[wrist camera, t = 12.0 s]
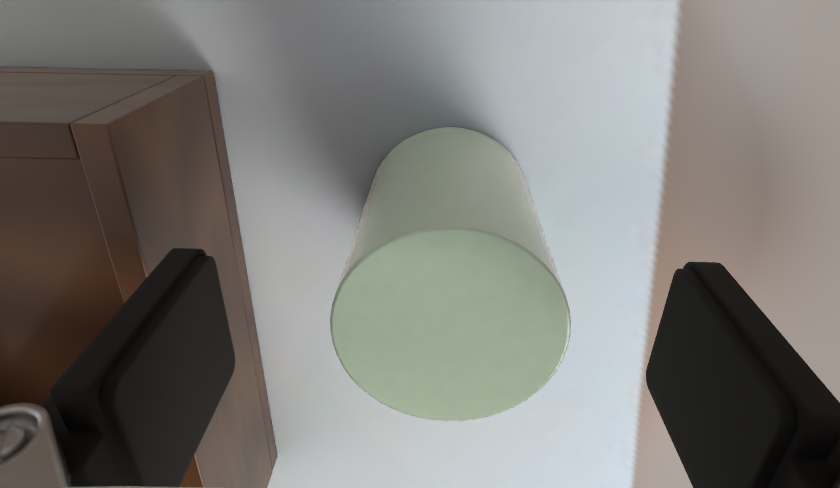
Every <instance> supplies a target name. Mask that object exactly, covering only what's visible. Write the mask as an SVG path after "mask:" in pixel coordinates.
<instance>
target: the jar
mask: <svg viewBox="0 0 840 488" xmlns="http://www.w3.org/2000/svg"><path fill="white" fill-rule="evenodd" d="M330 325H331V335H332V341H333V345H334V347H335V350H336V353H337V356H338V358H339V360H340V362H341V364H342V365H343V367H344V369H345V370H346V372H347V373H348V374H349V376H350V377H351V378H352V379H353V380H354V381H355V383H356V384H357V385H358V386H359V387H360V388H361V389H363V390H364V391H365V392H366V393H367V394H369V395H370V396H371V397H373V398H374V399H376V400H377V401H379V402H380V403H382V404H384V405H386V406H388V407H390V408H392V409H394V410H397V411H400V412H402V413H405V414H408V415H412V416H415V417H419V418H424V419H430V420H439V421H464V420H473V419H479V418H483V417H488V416H492V415H495V414H498V413H501V412H503V411H506V410H508V409H510V408H513V407H515V406H517V405H518V404H520V403H522V402H523V401H525V400H527V399H528V398H530V397H531V396H532V395H534V394H535V393H536V392H538V391H539V390H540V389H541V388H542V387H543V386H544V385H545V384H546V383H547V382H548V381H549V379H550V378H551V377H552V376H553V374H554V373H555V372H556V370H557V368H558V367H559V365H560V363H561V362H562V359H563V357H564V354H565V352H566V349H567V346H568V342H569V337H570V327H571V320H570V310H569V306H568V302H567V299H566V295H565V292H564V290H563V287H562V284H561V281H560V278H559V275H558V272H557V269H556V266H555V263H554V261H553V258H552V255H551V252H550V249H549V246H548V243H547V240H546V237H545V234H544V232H543V229H542V226H541V223H540V220H539V217H538V214H537V211H536V208H535V205H534V203H533V200H532V197H531V194H530V191H529V188H528V185H527V182H526V179H525V177H524V174H523V172H522V170H521V168H520V166H519V164H518V163H517V161H516V159H515V158H514V157H513V156H512V155H511V153H510V152H509V151H508V150H507V149H506V148H504V147H503V146H502V145H501V144H500V143H498V142H497V141H495V140H494V139H492V138H490V137H488V136H486V135H484V134H482V133H479V132H477V131H474V130H470V129H465V128H457V127H441V128H435V129H429V130H426V131H423V132H420V133H417V134H415V135H413V136H411V137H409V138H407V139H405V140H404V141H402V142H401V143H399V144H398V145H397V146H396V147H395V148H393V149H392V150H391V151H390V152H389V153H388V155H387V156H386V157H385V158H384V159H383V161H382V163H381V164H380V166H379V167H378V169H377V171H376V174H375V176H374V179H373V182H372V185H371V188H370V191H369V194H368V197H367V200H366V203H365V206H364V209H363V212H362V215H361V218H360V221H359V224H358V227H357V230H356V233H355V236H354V240H353V243H352V246H351V249H350V252H349V255H348V258H347V261H346V264H345V267H344V270H343V273H342V276H341V279H340V282H339V285H338V288H337V291H336V294H335V297H334V301H333V304H332V310H331V317H330Z"/></svg>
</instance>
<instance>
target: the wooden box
mask: <svg viewBox="0 0 840 488" xmlns="http://www.w3.org/2000/svg"><path fill="white" fill-rule="evenodd" d="M173 248H191V249H203V250H204V251H205V252H206V254H207V256H212V257H213V258H214V259H215V262H216V266H217V271H218V276H219V281H220V285H221V290H222V295H223V300H224V304H225V309H226V314H227V319H228V324H229V328H230V333H231V338H232V343H233V348H234V352H235V359H236V360H235V369H234V373H233V375H232V377H231V379H230V382H229V384H228V386H227V388H226V390H225V392H224V394H223V396H222V398H221V400H220V402H219V404H218V407H217V409H216V411H215V413H214V415H213V417H212V419H211V421H210V423H209V425H208V427H207V430H206V432H205V434H204V436H203V438H202V440H201V442H200V444H199V446H198V448H197V450H196V452H195V455H194V457H193V459H192V461H191V463H190V465H189V467H188V469H187V471H186V473H185V475H184V478H183V480H182V482H181V484H180V486H179V487H202V488H267V486H268V483H269V480H270V477H271V474H272V470H273V468H274V465H275V462H276V459H277V452H276V446H275V440H274V434H273V428H272V422H271V416H270V410H269V404H268V398H267V392H266V386H265V380H264V374H263V368H262V362H261V356H260V349H259V343H258V337H257V331H256V325H255V319H254V313H253V307H252V301H251V295H250V289H249V283H248V277H247V271H246V265H245V259H244V253H243V247H242V241H241V235H240V229H239V223H238V217H237V211H236V204H235V198H234V192H233V186H232V180H231V174H230V168H229V162H228V156H227V150H226V144H225V138H224V132H223V126H222V120H221V114H220V108H219V102H218V96H217V90H216V84H215V78H214V73H213V72H212V71H184V70H132V69H81V68H29V67H0V407H1V406H4V405H7V404H16V403H31V404H37V405H39V406H40V405H41V404H42V403H43V402H44V401H45V400H46V398H47V397H48V396H49V395H50V394H51V392H50V389H51V387H52V386H53V385H54V384H55V383H56V382H57V380H58V379H59V378H60V377H61V376H62V375H63V374H64V372H65V371H66V370H67V369H68V368H69V367H70V365H71V364H72V363H73V362H74V361H75V360H76V359H77V357H78V356H79V355H80V354H81V353H82V352H83V350H84V349H85V348H86V347H87V346H88V345H89V344H90V342H91V341H92V340H93V339H94V338H95V337H96V335H97V334H98V333H99V332H100V331H101V330H102V329H103V327H104V326H105V325H106V324H107V323H108V322H109V320H110V319H111V318H112V317H113V316H114V315H115V314H116V312H117V311H118V310H119V309H120V308H121V307H122V306H123V304H124V303H125V302H126V301H127V300H128V299H129V297H130V296H131V295H132V294H133V293H134V292H135V291H136V289H137V288H138V287H139V286H140V285H141V284H142V282H143V281H144V280H145V279H146V278H147V277H148V276H149V274H150V273H151V272H152V271H153V270H154V269H155V267H156V266H157V265H158V264H159V263H160V262H161V261H162V259H163V258H164V257H165V256H166V255H167V254H168V252H169V251H170V250H172V249H173Z"/></svg>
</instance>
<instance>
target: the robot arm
mask: <svg viewBox="0 0 840 488" xmlns="http://www.w3.org/2000/svg"><path fill="white" fill-rule="evenodd" d="M235 360H236V359H235V352H234V348H233V343H232V338H231V333H230V328H229V324H228V319H227V314H226V309H225V304H224V300H223V295H222V290H221V285H220V281H219V276H218V271H217V266H216V262H215V259H214V258H213V257H212V256H207V254H206V252H205V251H204V250H203V249H191V248H173V249H172V250H170V251H169V252H168V254H167V255H166V256H165V257H164V258H163V259H162V261H161V262H160V263H159V264H158V265H157V266H156V267H155V269H154V270H153V271H152V272H151V273H150V274H149V276H148V277H147V278H146V279H145V280H144V281H143V282H142V284H141V285H140V286H139V287H138V288H137V289H136V291H135V292H134V293H133V294H132V295H131V296H130V297H129V299H128V300H127V301H126V302H125V303H124V304H123V306H122V307H121V308H120V309H119V310H118V311H117V312H116V314H115V315H114V316H113V317H112V318H111V319H110V320H109V322H108V323H107V324H106V325H105V326H104V327H103V329H102V330H101V331H100V332H99V333H98V334H97V335H96V337H95V338H94V339H93V340H92V341H91V342H90V344H89V345H88V346H87V347H86V348H85V349H84V350H83V352H82V353H81V354H80V355H79V356H78V357H77V359H76V360H75V361H74V362H73V363H72V364H71V365H70V367H69V368H68V369H67V370H66V371H65V372H64V374H63V375H62V376H61V377H60V378H59V379H58V380H57V382H56V383H55V384H54V385H53V386H52V387H51V389H50V392H51V394H50V395H49V396H48V397H47V398H46V400H45V401H44V402H43V403H42V404H41V405H40V406H39V405H37V404H31V403H16V404H7V405H4V406H1V407H0V488H202V487H179V486H180V484H181V482H182V480H183V478H184V475H185V473H186V471H187V469H188V467H189V465H190V463H191V461H192V459H193V457H194V455H195V452H196V450H197V448H198V446H199V444H200V442H201V440H202V438H203V436H204V434H205V432H206V430H207V427H208V425H209V423H210V421H211V419H212V417H213V415H214V413H215V411H216V409H217V407H218V404H219V402H220V400H221V398H222V396H223V394H224V392H225V390H226V388H227V386H228V384H229V382H230V379H231V377H232V375H233V373H234V369H235ZM646 382H647V386H648V389H649V391H650V393H651V395H652V398H653V400H654V402H655V404H656V406H657V409H658V411H659V413H660V415H661V417H662V420H663V422H664V424H665V426H666V428H667V431H668V433H669V435H670V437H671V439H672V442H673V444H674V446H675V448H676V450H677V453H678V455H679V457H680V459H681V461H682V464H683V465H684V468H685V470H686V473H687V475H688V477H689V479H690V481H691V484H692V486H693V488H840V403H839V401H838V400H837V399H836V398H835V397H834V396H833V395H832V393H831V392H830V391H829V390H828V389H827V387H826V386H825V385H824V384H823V383H822V381H821V380H820V379H819V378H818V377H817V376H816V374H815V373H814V372H813V371H812V370H811V369H810V367H809V366H808V365H807V364H806V363H805V361H804V360H803V359H802V358H801V357H800V356H799V354H798V353H797V352H796V351H795V350H794V349H793V347H792V346H791V345H790V344H789V343H788V342H787V340H786V339H785V338H784V337H783V336H782V334H781V333H780V332H779V331H778V330H777V329H776V327H775V326H774V325H773V324H772V323H771V321H770V320H769V319H768V318H767V317H766V316H765V314H764V313H763V312H762V311H761V310H760V309H759V308H758V306H757V305H756V304H755V303H754V301H753V300H752V299H751V298H750V297H749V296H748V295H747V293H746V292H745V291H744V290H743V288H742V287H741V286H740V285H739V284H738V283H737V281H736V280H735V279H734V278H733V277H732V276H731V274H730V273H729V272H728V271H727V270H726V269H725V267H724V266H723V265H721V264H720V263H714V262H711V263H710V262H688V263H687V264H686V265H685V266H684V268H683V269H677V270H676V271H675V273H674V276H673V280H672V283H671V286H670V290H669V293H668V297H667V300H666V304H665V307H664V311H663V314H662V318H661V321H660V324H659V328H658V331H657V335H656V338H655V342H654V345H653V349H652V352H651V356H650V359H649V363H648V366H647V370H646Z"/></svg>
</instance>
